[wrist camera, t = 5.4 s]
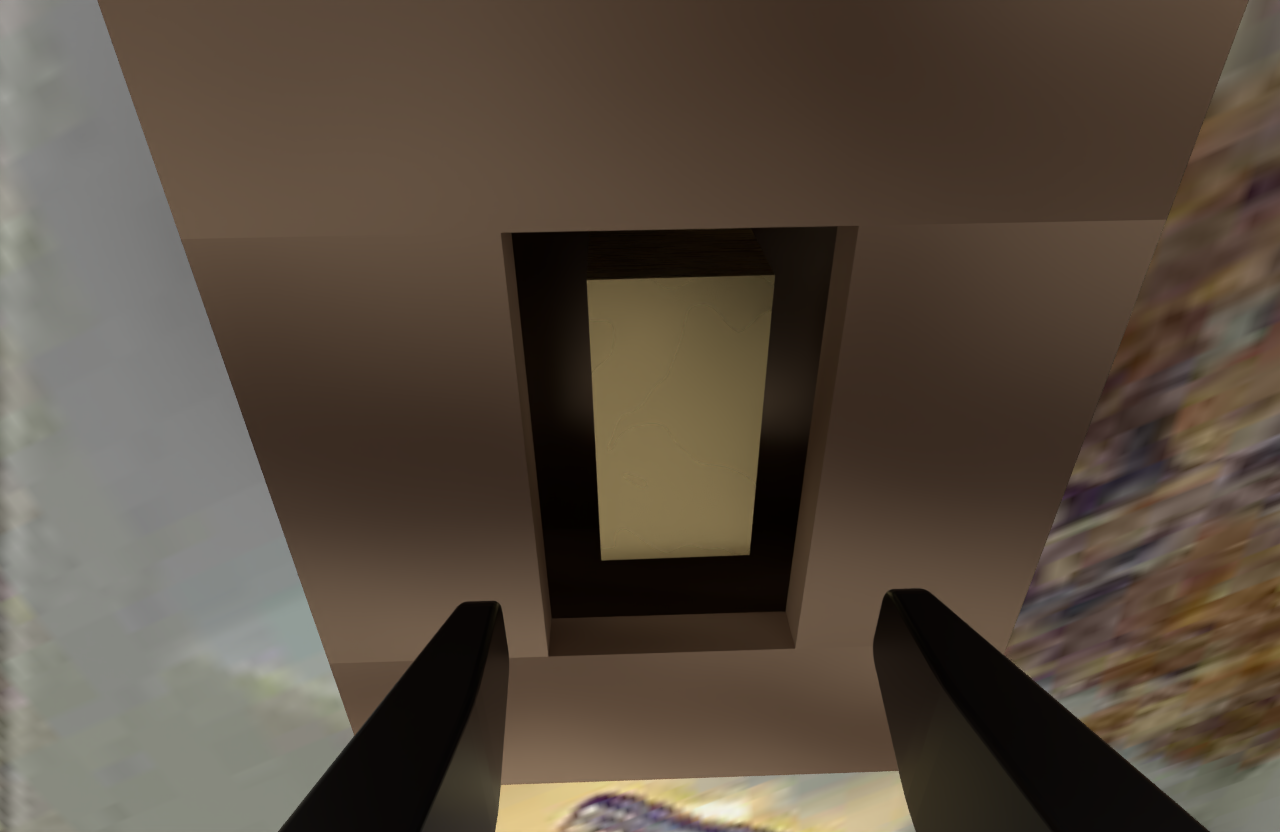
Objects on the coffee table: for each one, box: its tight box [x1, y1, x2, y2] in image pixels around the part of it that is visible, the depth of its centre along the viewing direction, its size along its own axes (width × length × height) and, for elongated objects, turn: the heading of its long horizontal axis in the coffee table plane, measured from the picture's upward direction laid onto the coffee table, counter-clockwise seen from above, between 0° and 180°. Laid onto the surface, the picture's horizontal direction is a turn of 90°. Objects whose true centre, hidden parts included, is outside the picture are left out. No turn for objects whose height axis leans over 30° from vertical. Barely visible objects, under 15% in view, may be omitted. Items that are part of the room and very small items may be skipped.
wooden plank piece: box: [587, 228, 775, 560], centre depth 13 cm, size 5×2×5 cm, turn 0°
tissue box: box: [98, 0, 1249, 785], centre depth 13 cm, size 14×11×7 cm
